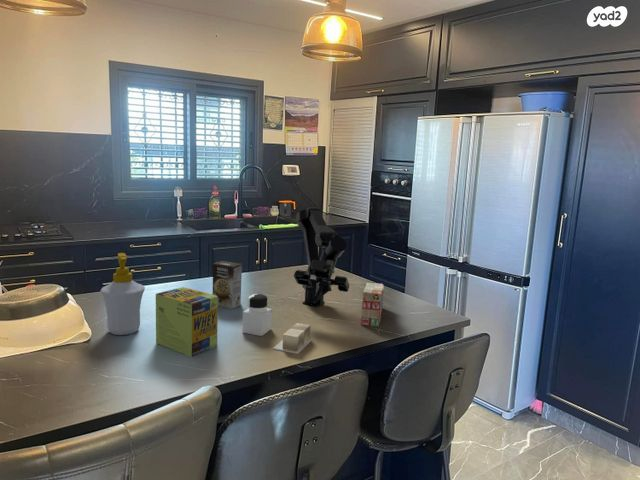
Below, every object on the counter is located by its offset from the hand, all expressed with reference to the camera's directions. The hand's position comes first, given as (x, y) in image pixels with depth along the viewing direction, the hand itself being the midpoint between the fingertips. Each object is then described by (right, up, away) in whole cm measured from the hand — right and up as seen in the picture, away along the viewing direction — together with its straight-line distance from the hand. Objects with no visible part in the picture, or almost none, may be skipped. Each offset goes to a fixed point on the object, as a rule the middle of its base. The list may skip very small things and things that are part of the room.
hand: (314, 302), depth 157 cm
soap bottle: (-60, -8, -8) cm, 61 cm away
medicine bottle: (-19, -9, -3) cm, 21 cm away
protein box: (-38, -11, -16) cm, 42 cm away
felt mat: (-6, -11, -13) cm, 18 cm away
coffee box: (-33, -4, +21) cm, 40 cm away
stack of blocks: (+21, -8, +17) cm, 28 cm away
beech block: (-3, -8, -8) cm, 11 cm away
